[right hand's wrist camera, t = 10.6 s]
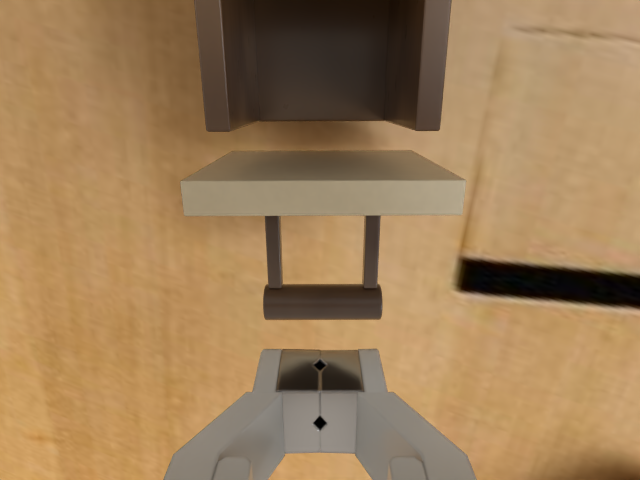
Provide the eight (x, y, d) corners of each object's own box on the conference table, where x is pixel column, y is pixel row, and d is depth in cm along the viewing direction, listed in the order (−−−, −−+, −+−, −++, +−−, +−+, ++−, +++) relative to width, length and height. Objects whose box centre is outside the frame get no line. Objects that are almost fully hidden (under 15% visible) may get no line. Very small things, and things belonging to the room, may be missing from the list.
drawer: (403, 274, 23) (445, 362, 15) (240, 274, 23) (201, 363, 15) (444, -314, 15) (574, -745, 7) (197, -313, 15) (70, -742, 7)
